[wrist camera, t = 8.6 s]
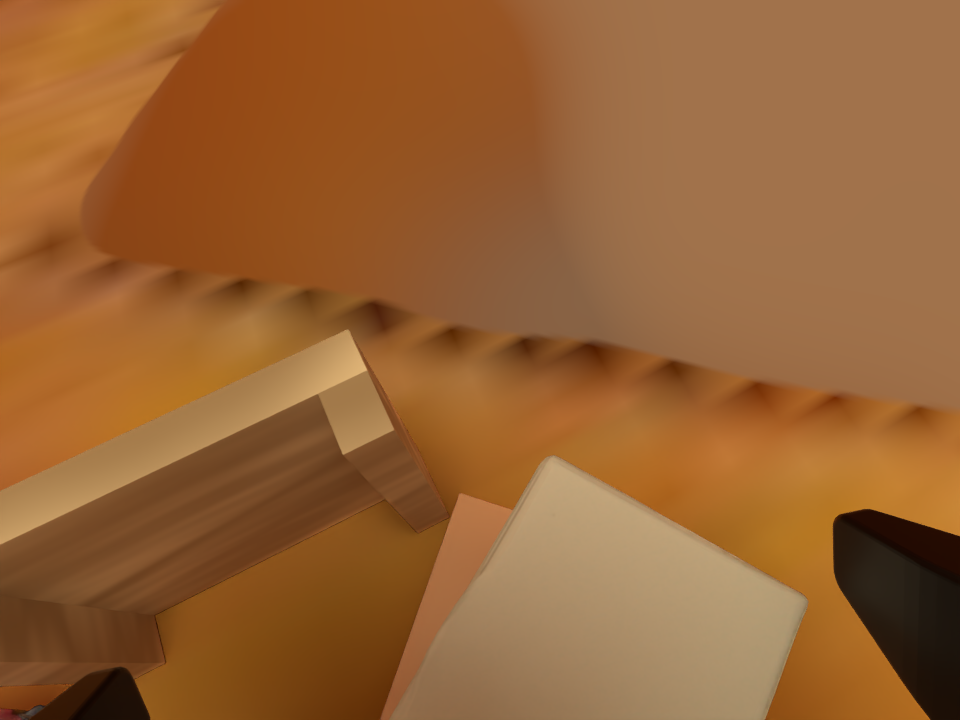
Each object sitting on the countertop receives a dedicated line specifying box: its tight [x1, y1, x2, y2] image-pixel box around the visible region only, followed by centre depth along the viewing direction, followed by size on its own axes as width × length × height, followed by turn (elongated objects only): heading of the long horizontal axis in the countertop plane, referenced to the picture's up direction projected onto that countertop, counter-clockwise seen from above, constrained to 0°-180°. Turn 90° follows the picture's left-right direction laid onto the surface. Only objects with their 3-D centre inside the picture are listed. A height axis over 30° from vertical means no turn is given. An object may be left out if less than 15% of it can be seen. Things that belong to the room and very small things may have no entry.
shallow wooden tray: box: [0, 329, 449, 687], centre depth 18 cm, size 3×11×9 cm, turn 116°
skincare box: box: [389, 455, 808, 720], centre depth 13 cm, size 6×4×12 cm
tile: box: [380, 493, 513, 720], centre depth 19 cm, size 9×9×1 cm
